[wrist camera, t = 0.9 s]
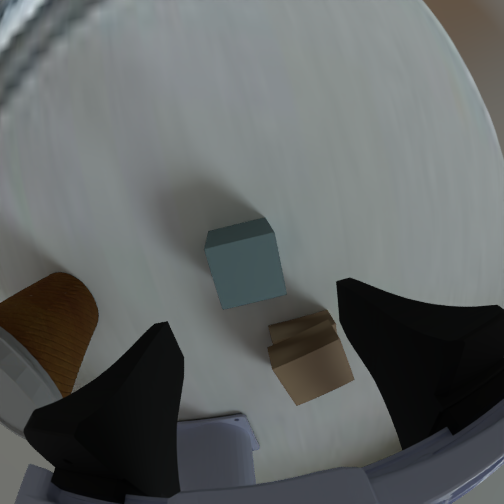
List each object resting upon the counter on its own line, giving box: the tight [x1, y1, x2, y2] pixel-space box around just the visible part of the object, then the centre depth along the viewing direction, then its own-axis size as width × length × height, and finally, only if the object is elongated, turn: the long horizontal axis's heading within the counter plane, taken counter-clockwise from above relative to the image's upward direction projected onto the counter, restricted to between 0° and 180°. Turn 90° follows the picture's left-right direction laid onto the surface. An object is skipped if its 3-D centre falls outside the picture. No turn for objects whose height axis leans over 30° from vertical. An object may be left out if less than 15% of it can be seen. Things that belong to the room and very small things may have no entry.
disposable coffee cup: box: [0, 272, 99, 440], centre depth 14 cm, size 10×10×12 cm
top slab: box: [267, 320, 354, 406], centre depth 20 cm, size 5×5×2 cm
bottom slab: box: [268, 310, 337, 345], centre depth 22 cm, size 5×5×2 cm
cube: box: [204, 218, 287, 310], centre depth 18 cm, size 4×4×4 cm
